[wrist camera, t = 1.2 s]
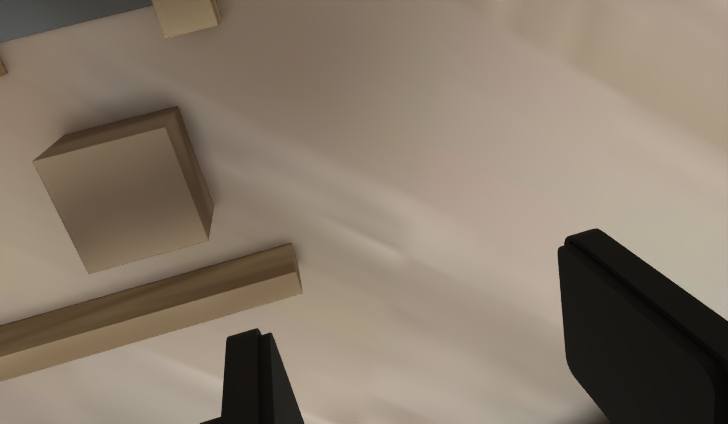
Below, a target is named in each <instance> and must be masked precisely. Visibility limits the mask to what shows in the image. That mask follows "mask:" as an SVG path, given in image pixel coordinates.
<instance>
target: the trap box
mask: <svg viewBox="0 0 728 424" xmlns="http://www.w3.org/2000/svg"><path fill="white" fill-rule="evenodd" d="M151 5H153V6H154V9H155V11H156V14H157V17H158V20H159V23H160V25H161V28H162V31H163V34H164V37H165V39H166V38H170V37H174V36H178V35H182V34H186V33H190V32H194V31H198V30H202V29H206V28H210V27H214V26H218V25H219V23H220V22H221V21H222V19H221V16H220V13H219V10H218V7H217V3H216V0H0V42H3V41H7V40H11V39H15V38H19V37H23V36H28V35H32V34H36V33H40V32H44V31H48V30H52V29H56V28H61V27H65V26H69V25H73V24H77V23H81V22H85V21H89V20H93V19H98V18H102V17H106V16H110V15H114V14H118V13H122V12H126V11H131V10H135V9H139V8H143V7H147V6H151ZM4 74H7V72H6V70H5V68H4V66H3V64H2V62H1V60H0V76H2V75H4ZM302 293H303V292H302V286H301V280H300V274H299V268H298V263H297V259H296V256H295V253H294V250H293V247H292V243H291V244H287V245H284V246H280V247H277V248H273V249H270V250H266V251H263V252H259V253H256V254H252V255H249V256H245V257H242V258H238V259H235V260H231V261H228V262H224V263H221V264H217V265H214V266H210V267H207V268H203V269H199V270H196V271H192V272H189V273H185V274H182V275H178V276H175V277H171V278H168V279H164V280H161V281H157V282H154V283H150V284H147V285H143V286H140V287H136V288H133V289H129V290H126V291H122V292H119V293H115V294H112V295H108V296H104V297H101V298H97V299H94V300H90V301H87V302H83V303H80V304H76V305H73V306H69V307H66V308H62V309H59V310H55V311H52V312H48V313H45V314H41V315H38V316H34V317H31V318H27V319H24V320H20V321H16V322H13V323H9V324H6V325H2V326H0V382H1V381H4V380H8V379H11V378H14V377H18V376H21V375H25V374H28V373H31V372H35V371H38V370H42V369H45V368H49V367H52V366H55V365H59V364H62V363H66V362H69V361H73V360H76V359H79V358H83V357H86V356H90V355H93V354H97V353H100V352H103V351H107V350H110V349H114V348H117V347H120V346H124V345H127V344H131V343H134V342H138V341H141V340H144V339H148V338H151V337H155V336H158V335H162V334H165V333H168V332H172V331H175V330H179V329H182V328H185V327H189V326H192V325H196V324H199V323H203V322H206V321H209V320H213V319H216V318H220V317H223V316H227V315H230V314H233V313H237V312H240V311H244V310H247V309H250V308H254V307H257V306H261V305H264V304H268V303H271V302H274V301H278V300H281V299H285V298H288V297H292V296H295V295H298V294H302Z"/></svg>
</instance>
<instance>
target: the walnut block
mask: <svg viewBox="0 0 728 424" xmlns="http://www.w3.org/2000/svg"><path fill="white" fill-rule="evenodd" d="M32 162H33V164H34V166H35V168H36V170H37V172H38V174H39V176H40V178H41V180H42V182H43V184H44V186H45V188H46V190H47V192H48V194H49V196H50V198H51V200H52V202H53V204H54V206H55V208H56V210H57V212H58V214H59V216H60V218H61V220H62V222H63V224H64V226H65V228H66V230H67V232H68V234H69V236H70V238H71V240H72V242H73V244H74V246H75V248H76V250H77V252H78V254H79V256H80V258H81V260H82V262H83V264H84V266H85V268H86V270H87V272H88V274H91V273H94V272H98V271H102V270H105V269H109V268H112V267H116V266H119V265H123V264H127V263H130V262H134V261H137V260H141V259H145V258H148V257H152V256H155V255H159V254H163V253H166V252H170V251H173V250H177V249H181V248H184V247H188V246H191V245H195V244H198V243H202V242H206V241H208V240H209V234H210V228H211V222H212V215H213V209H214V205H213V202H212V200H211V197H210V194H209V191H208V189H207V186H206V183H205V181H204V178H203V175H202V172H201V170H200V167H199V164H198V161H197V159H196V156H195V153H194V150H193V148H192V145H191V142H190V139H189V137H188V134H187V131H186V129H185V126H184V123H183V120H182V118H181V115H180V112H179V109H178V107H177V106H176V107H172V108H168V109H164V110H160V111H157V112H153V113H149V114H145V115H141V116H137V117H133V118H129V119H125V120H121V121H118V122H114V123H110V124H106V125H102V126H98V127H94V128H90V129H86V130H82V131H79V132H75V133H71V134H67V135H64V136H63V137H61V138H60V139H59V140H58V141H57V142H55V143H54V144H53V145H52V146H50V147H49V148H48V149H47V150H46V151H44V152H43V153H42V154H41V155H40V156H38V157H37V158H36V159H35V160H34V161H32Z"/></svg>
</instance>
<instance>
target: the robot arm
mask: <svg viewBox="0 0 728 424" xmlns="http://www.w3.org/2000/svg"><path fill="white" fill-rule="evenodd" d="M558 266H559V278H560V290H561V303H562V315H563V327H564V340H565V352H566V360H567V363H568V366H569V369H570V371H571V372H572V374H573V376H574V377H575V378H576V380H577V381H578V382H579V383H580V385H581V386H582V387H583V388H584V389H585V391H586V392H587V393H588V394H589V396H590V397H591V398H592V399H593V401H594V402H595V403H596V404H597V405H598V407H599V408H600V409H601V410H602V412H603V413H604V414H605V415H606V417H607V418H608V419H609V420H610V421H611V423H612V424H728V321H727V320H725V319H724V318H723V317H721V316H720V315H718V314H717V313H716V312H714V311H713V310H711V309H710V308H709V307H707V306H706V305H704V304H703V303H702V302H700V301H699V300H698V299H696V298H695V297H693V296H692V295H691V294H689V293H688V292H686V291H685V290H684V289H682V288H681V287H679V286H678V285H677V284H675V283H674V282H672V281H671V280H670V279H668V278H667V277H666V276H664V275H663V274H661V273H660V272H659V271H657V270H656V269H654V268H653V267H652V266H650V265H649V264H647V263H646V262H645V261H643V260H642V259H640V258H639V257H638V256H636V255H635V254H633V253H632V252H631V251H629V250H628V249H627V248H625V247H624V246H622V245H621V244H620V243H618V242H617V241H615V240H614V239H613V238H611V237H610V236H608V235H607V234H606V233H604V232H603V231H601V230H599V229H591V230H588V231H584V232H581V233H578V234H574V235H571V236H568V237H567V238H566V239H565V242H564V246H561V247H559V248H558ZM200 424H304V421H303V418H302V415H301V413H300V410H299V407H298V404H297V401H296V399H295V396H294V393H293V390H292V387H291V385H290V382H289V379H288V376H287V373H286V371H285V368H284V365H283V362H282V359H281V357H280V354H279V351H278V348H277V345H276V343H275V340H274V337H273V335H272V333H267V334H264V335H261V333H260V331H259V329H258V328H256V329H253V330H249V331H246V332H242V333H239V334H236V335H232V336H229V337H227V340H226V354H225V368H224V383H223V397H222V412H221V417H219V418H215V419H212V420H209V421H206V422H202V423H200Z"/></svg>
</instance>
